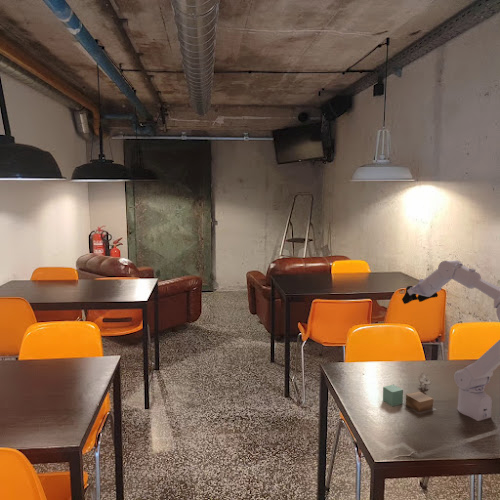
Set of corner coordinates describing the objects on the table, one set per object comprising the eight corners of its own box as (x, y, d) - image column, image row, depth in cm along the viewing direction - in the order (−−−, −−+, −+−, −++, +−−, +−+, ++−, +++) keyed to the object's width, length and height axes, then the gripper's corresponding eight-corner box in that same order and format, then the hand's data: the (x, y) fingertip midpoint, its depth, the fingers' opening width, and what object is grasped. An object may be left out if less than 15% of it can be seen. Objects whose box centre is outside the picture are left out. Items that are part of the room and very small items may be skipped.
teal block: (402, 403, 146) (403, 389, 145) (392, 406, 144) (392, 392, 143) (393, 398, 150) (393, 384, 149) (382, 400, 148) (383, 386, 147)
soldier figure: (438, 386, 163) (439, 389, 153) (427, 393, 164) (428, 397, 153) (423, 369, 166) (424, 371, 156) (413, 376, 167) (413, 379, 156)
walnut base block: (432, 408, 142) (433, 398, 142) (419, 412, 140) (419, 402, 139) (419, 400, 148) (419, 391, 147) (405, 404, 145) (406, 394, 145)
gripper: (443, 271, 157) (420, 289, 167) (413, 274, 151) (391, 293, 161) (453, 287, 153) (429, 305, 163) (423, 291, 147) (400, 309, 157)
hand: (411, 300), depth 162 cm, fingers open, 7 cm apart
